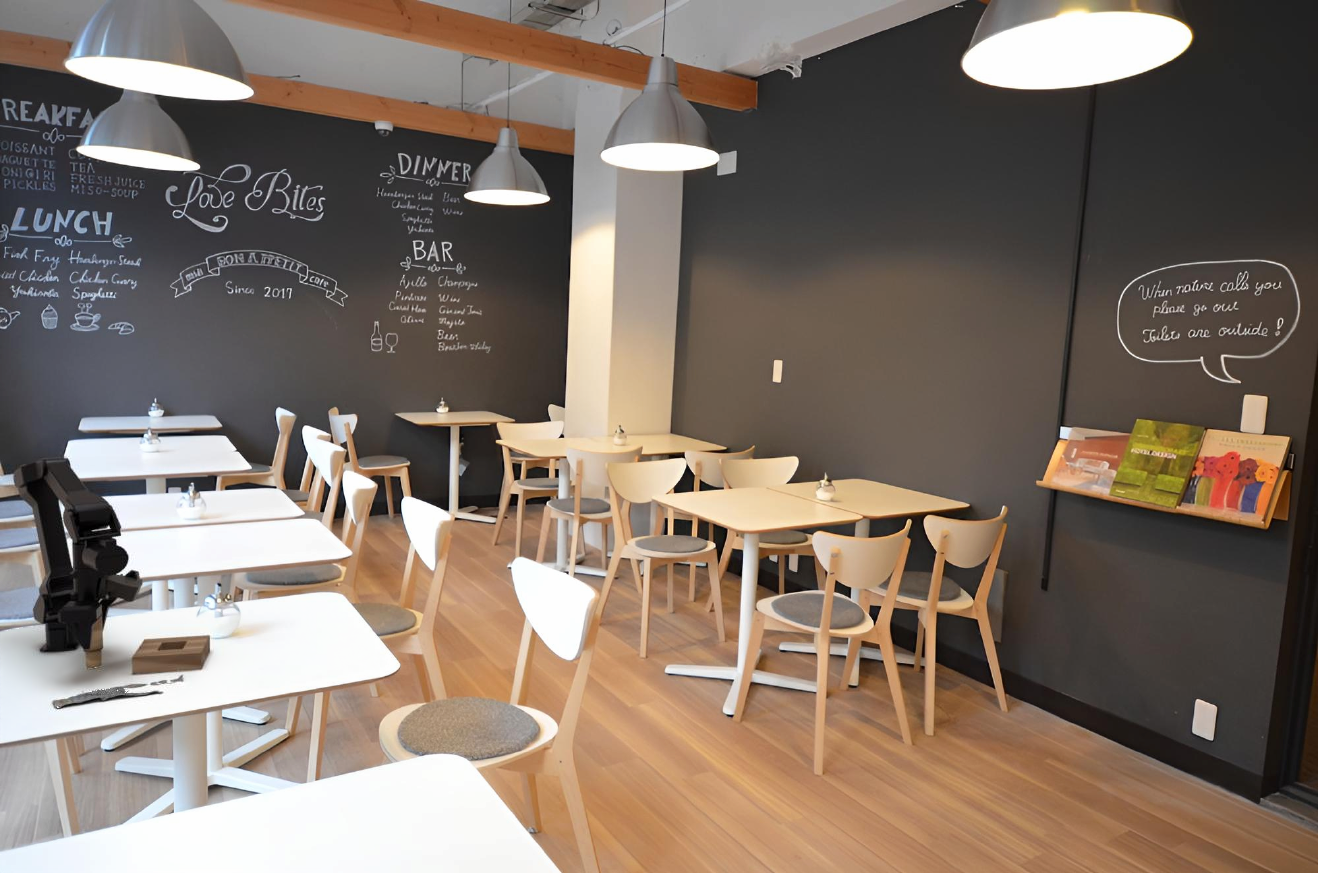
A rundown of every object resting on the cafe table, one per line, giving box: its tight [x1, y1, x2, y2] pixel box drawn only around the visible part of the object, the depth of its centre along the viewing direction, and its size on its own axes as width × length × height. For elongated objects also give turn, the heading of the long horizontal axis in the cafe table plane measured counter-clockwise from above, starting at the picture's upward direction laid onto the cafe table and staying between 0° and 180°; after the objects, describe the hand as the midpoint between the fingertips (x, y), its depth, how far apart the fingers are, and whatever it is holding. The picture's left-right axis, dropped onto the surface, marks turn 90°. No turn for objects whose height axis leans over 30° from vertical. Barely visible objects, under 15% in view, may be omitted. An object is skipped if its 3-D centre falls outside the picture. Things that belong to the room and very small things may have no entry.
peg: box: [82, 611, 104, 669], centre depth 169 cm, size 3×3×12 cm
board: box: [131, 634, 211, 675], centre depth 173 cm, size 10×12×4 cm
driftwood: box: [52, 674, 184, 709], centre depth 158 cm, size 21×7×2 cm, turn 119°
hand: (93, 641), depth 169 cm, fingers open, 8 cm apart
